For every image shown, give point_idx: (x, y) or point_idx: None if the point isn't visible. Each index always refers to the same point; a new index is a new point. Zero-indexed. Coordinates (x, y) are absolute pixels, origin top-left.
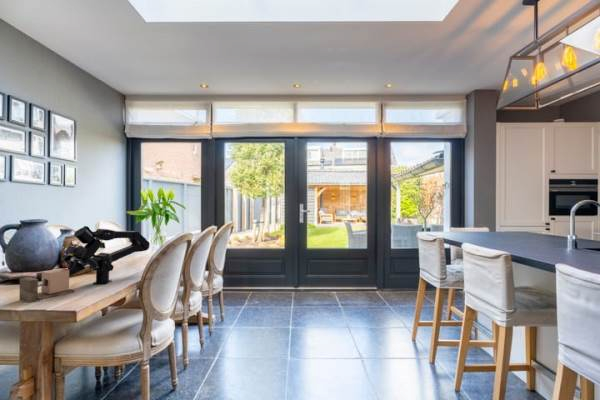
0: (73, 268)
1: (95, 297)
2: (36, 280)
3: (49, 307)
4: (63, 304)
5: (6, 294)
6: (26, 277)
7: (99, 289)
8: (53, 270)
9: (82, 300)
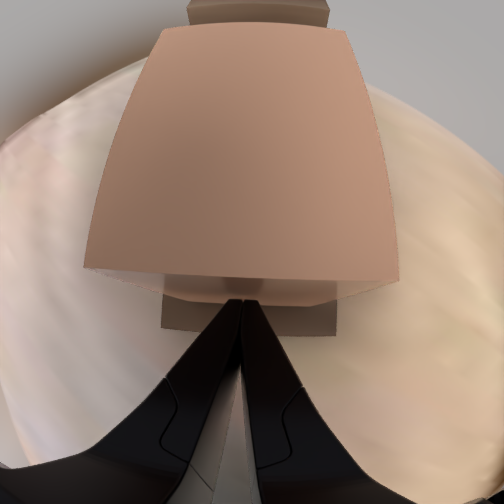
0: (143, 420)
1: (2, 285)
2: (189, 10)
3: (77, 107)
4: (51, 150)
5: (455, 138)
6: (325, 5)
7: (90, 433)
8: (301, 95)
9: (17, 224)
